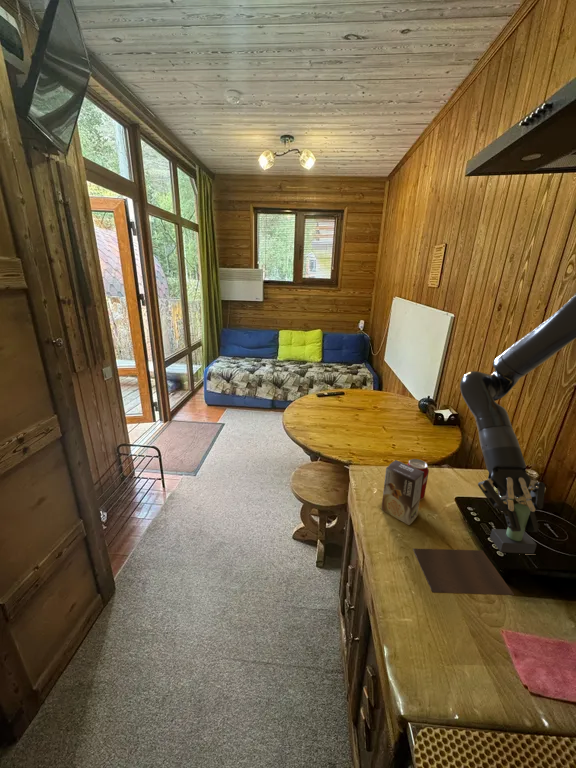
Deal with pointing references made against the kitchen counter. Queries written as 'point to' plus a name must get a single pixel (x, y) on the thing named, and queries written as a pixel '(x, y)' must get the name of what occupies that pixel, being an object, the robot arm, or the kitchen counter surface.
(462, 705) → the kitchen counter surface
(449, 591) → the board
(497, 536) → the green post on base
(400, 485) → the coffee box
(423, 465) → the soda can
